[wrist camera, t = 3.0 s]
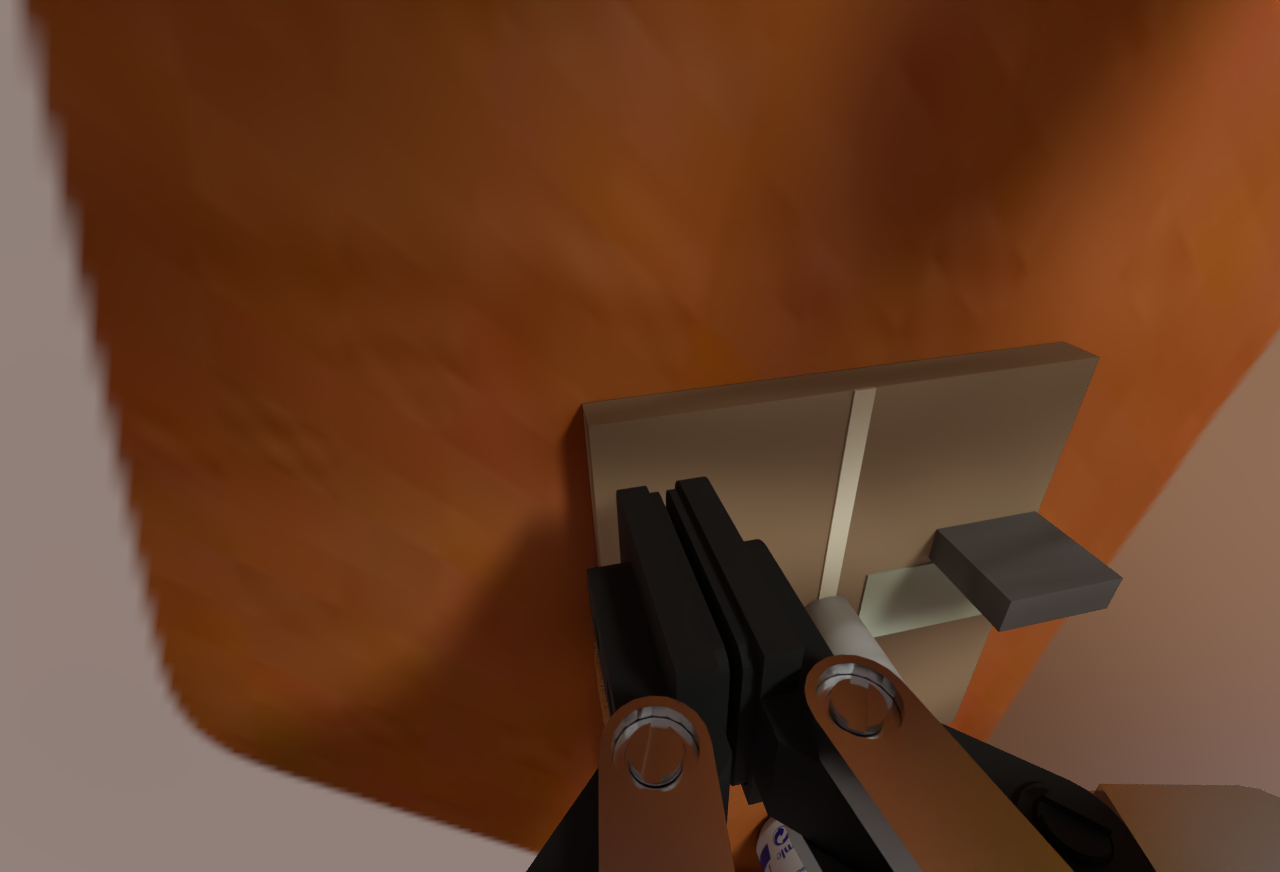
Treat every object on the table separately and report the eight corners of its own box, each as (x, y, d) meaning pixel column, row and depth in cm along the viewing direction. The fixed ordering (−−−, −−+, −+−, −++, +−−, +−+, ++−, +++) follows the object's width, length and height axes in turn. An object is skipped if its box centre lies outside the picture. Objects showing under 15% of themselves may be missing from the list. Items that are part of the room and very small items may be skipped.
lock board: (581, 403, 12) (614, 518, 9) (1064, 341, 14) (1241, 416, 11) (617, 772, 19) (643, 914, 16) (935, 697, 21) (1017, 809, 18)
